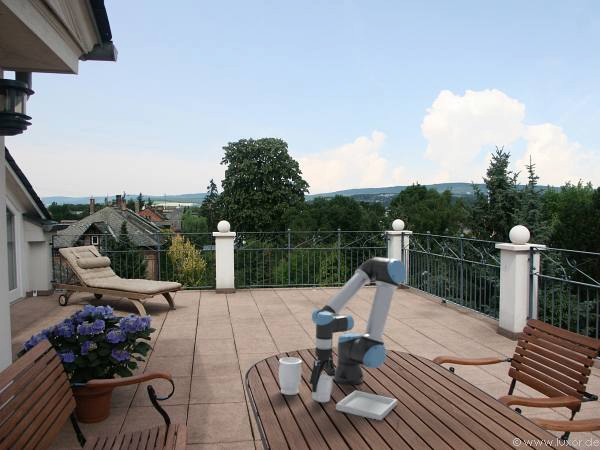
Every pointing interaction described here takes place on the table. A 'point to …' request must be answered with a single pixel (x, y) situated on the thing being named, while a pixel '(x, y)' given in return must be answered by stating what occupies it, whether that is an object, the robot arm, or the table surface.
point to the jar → (289, 375)
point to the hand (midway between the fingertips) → (322, 394)
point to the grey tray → (366, 405)
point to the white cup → (324, 388)
